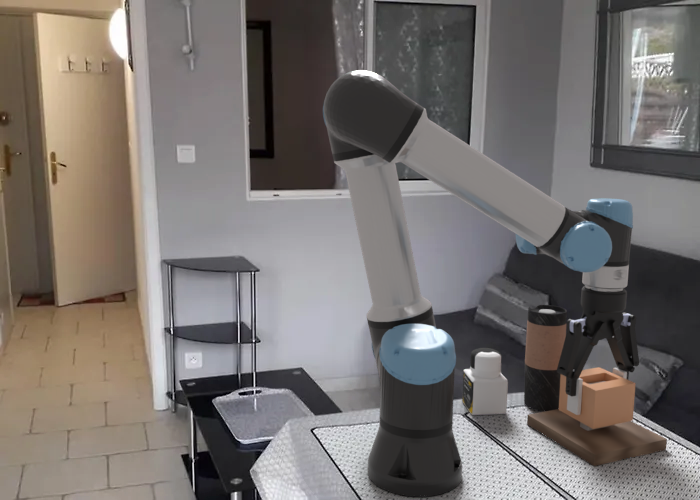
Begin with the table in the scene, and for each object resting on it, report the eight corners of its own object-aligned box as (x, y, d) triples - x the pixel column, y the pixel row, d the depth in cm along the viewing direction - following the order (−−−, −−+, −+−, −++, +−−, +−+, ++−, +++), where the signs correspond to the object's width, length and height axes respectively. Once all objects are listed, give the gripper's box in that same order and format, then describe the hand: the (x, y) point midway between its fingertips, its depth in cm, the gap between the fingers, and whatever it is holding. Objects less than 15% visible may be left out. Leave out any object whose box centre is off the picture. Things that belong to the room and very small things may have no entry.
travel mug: (563, 413, 138) (569, 315, 135) (523, 410, 140) (528, 312, 137) (559, 399, 146) (565, 305, 143) (522, 396, 147) (526, 303, 144)
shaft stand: (594, 466, 117) (598, 409, 115) (527, 424, 133) (529, 374, 131) (665, 449, 123) (670, 395, 121) (593, 412, 139) (596, 363, 138)
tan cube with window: (593, 429, 122) (595, 390, 120) (558, 409, 130) (560, 373, 129) (632, 420, 125) (635, 383, 124) (596, 402, 133) (599, 367, 132)
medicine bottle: (461, 401, 144) (463, 345, 142) (495, 400, 145) (498, 344, 143) (471, 415, 137) (473, 356, 135) (506, 414, 138) (509, 355, 136)
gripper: (568, 296, 116) (560, 425, 119) (668, 286, 124) (657, 406, 128) (539, 287, 122) (532, 409, 126) (635, 278, 131) (626, 392, 135)
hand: (595, 407), depth 127 cm, fingers open, 9 cm apart
